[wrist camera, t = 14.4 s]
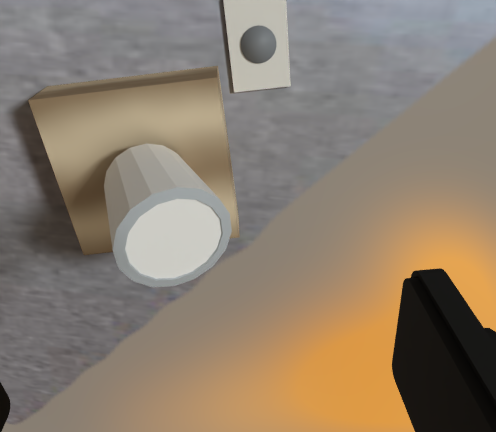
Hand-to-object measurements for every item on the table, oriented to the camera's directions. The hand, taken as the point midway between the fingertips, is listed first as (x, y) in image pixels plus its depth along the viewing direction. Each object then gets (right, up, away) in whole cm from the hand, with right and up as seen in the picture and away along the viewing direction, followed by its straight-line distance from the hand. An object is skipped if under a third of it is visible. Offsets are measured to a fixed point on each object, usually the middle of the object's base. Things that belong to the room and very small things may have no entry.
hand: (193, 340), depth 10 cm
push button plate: (+2, +14, +21) cm, 25 cm away
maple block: (-6, +8, +25) cm, 27 cm away
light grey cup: (-6, +5, +21) cm, 22 cm away
